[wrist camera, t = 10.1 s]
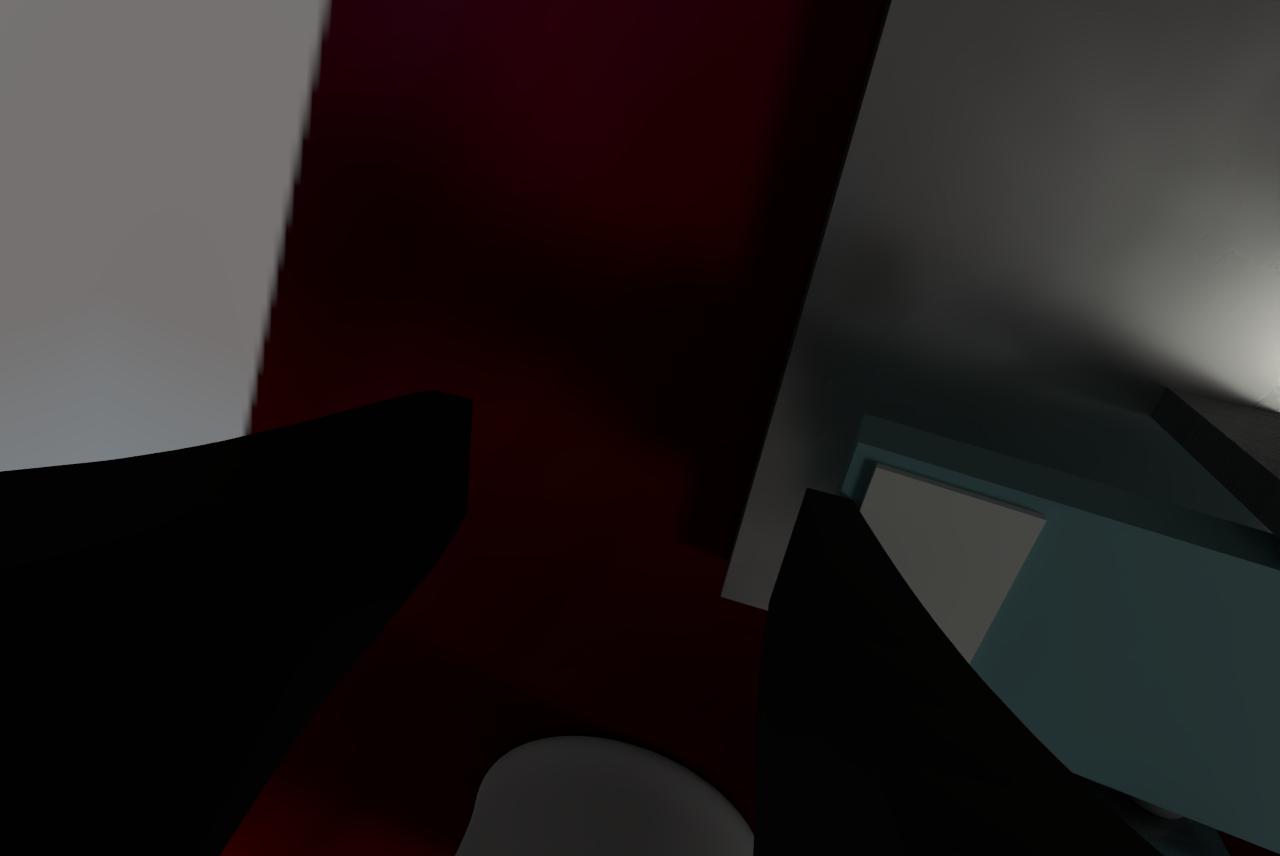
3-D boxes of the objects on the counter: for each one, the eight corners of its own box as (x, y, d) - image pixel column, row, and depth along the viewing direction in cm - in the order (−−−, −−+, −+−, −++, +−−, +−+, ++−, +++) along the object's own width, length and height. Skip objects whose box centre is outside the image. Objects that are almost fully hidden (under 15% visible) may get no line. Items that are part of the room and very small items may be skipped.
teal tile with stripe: (1928, 708, 7) (2091, 802, 6) (1592, 931, 9) (1674, 1032, 8) (868, 400, 9) (862, 432, 8) (787, 626, 11) (775, 673, 10)
